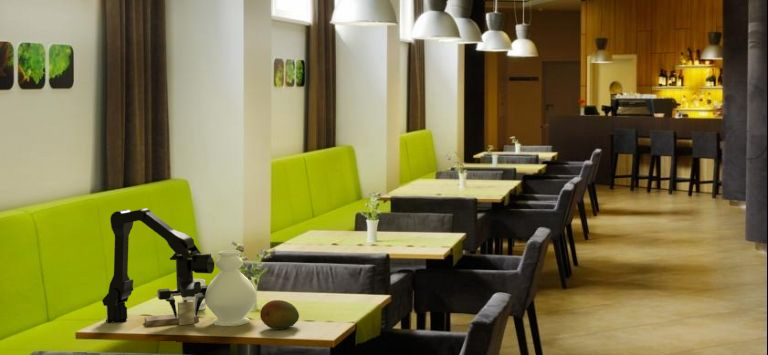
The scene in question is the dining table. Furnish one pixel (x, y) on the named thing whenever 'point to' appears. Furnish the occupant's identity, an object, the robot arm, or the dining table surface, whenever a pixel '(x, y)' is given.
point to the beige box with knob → (185, 312)
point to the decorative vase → (230, 291)
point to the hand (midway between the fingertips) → (186, 316)
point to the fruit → (279, 314)
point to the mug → (203, 303)
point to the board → (164, 320)
